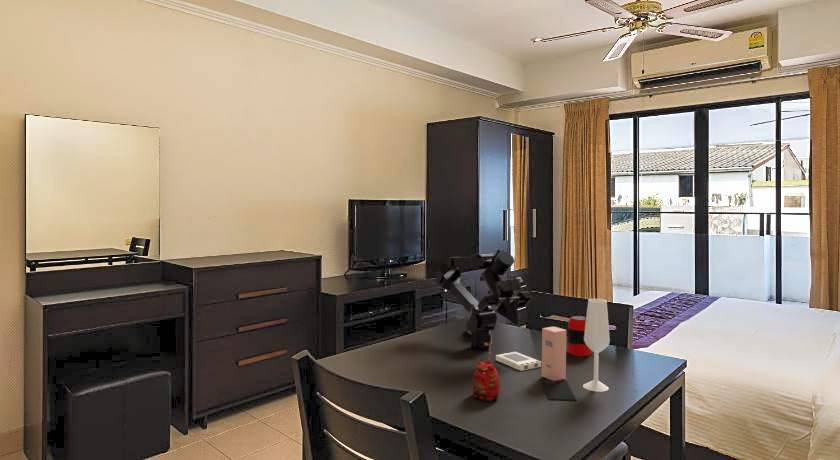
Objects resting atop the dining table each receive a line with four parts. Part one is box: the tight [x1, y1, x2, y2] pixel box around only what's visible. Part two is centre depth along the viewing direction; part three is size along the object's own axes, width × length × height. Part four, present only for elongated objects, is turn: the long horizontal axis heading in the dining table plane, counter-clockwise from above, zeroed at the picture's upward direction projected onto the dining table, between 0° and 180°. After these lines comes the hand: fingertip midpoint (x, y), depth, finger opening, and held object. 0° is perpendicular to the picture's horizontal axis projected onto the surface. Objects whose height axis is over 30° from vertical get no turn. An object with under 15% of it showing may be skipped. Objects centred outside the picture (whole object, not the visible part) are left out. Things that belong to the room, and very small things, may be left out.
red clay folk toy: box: [471, 338, 501, 402], centre depth 133 cm, size 8×7×15 cm
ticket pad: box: [495, 351, 542, 372], centre depth 162 cm, size 12×8×2 cm, turn 29°
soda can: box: [567, 315, 592, 357], centre depth 172 cm, size 8×8×12 cm
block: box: [541, 326, 568, 381], centre depth 147 cm, size 5×5×14 cm
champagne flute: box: [582, 298, 611, 393], centre depth 140 cm, size 7×7×24 cm
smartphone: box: [540, 379, 577, 402], centre depth 139 cm, size 7×1×15 cm
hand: (517, 323), depth 162 cm, fingers closed
